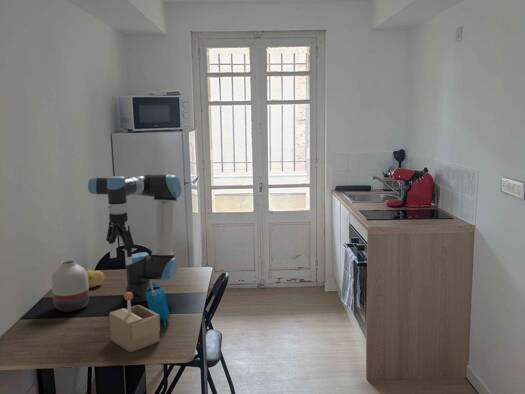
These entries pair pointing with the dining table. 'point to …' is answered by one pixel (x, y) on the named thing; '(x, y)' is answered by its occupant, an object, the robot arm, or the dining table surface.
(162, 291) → the blue rounded piece
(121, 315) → the flap
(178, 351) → the dining table surface
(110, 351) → the dining table surface
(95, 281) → the potato
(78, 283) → the vase
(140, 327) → the carton
